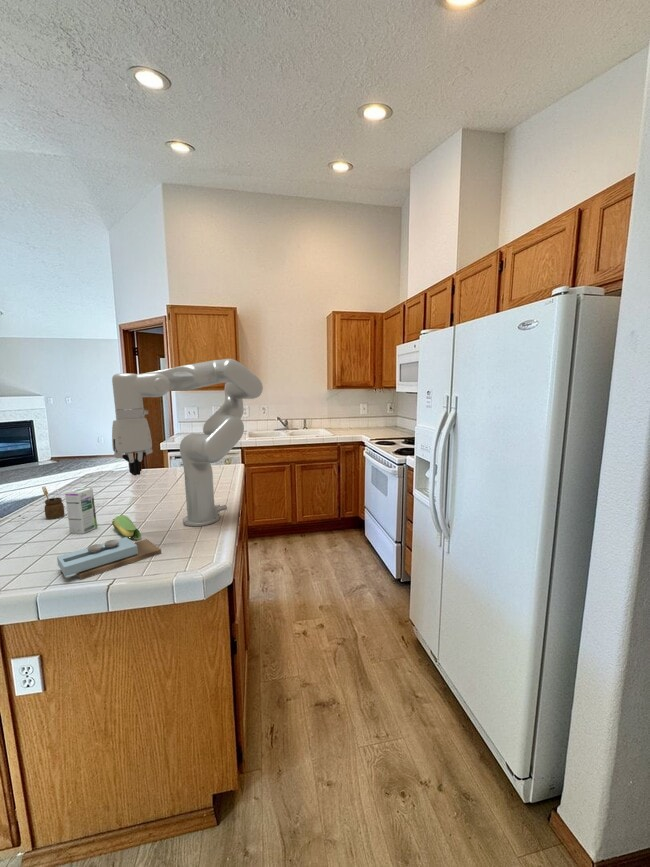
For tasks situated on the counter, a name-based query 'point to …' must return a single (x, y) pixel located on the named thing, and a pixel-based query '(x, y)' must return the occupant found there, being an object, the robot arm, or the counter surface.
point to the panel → (95, 557)
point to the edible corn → (126, 527)
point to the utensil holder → (53, 506)
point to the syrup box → (81, 510)
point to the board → (144, 551)
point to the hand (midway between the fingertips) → (135, 474)
